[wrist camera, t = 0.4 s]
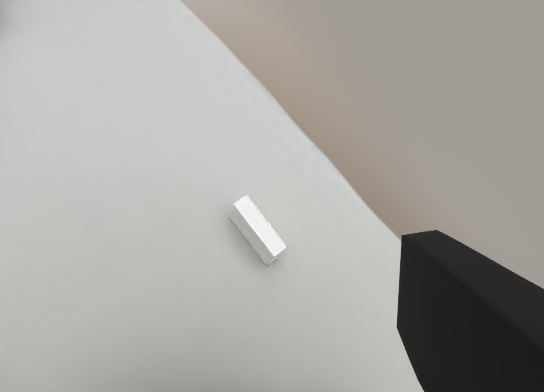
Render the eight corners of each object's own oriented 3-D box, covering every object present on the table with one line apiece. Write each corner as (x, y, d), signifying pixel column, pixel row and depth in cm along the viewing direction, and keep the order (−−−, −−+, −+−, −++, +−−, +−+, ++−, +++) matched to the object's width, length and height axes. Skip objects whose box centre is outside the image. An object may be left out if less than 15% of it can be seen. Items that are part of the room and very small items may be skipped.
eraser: (266, 266, 40) (274, 256, 36) (228, 217, 41) (232, 203, 37) (279, 256, 40) (287, 246, 37) (241, 208, 41) (246, 194, 38)
